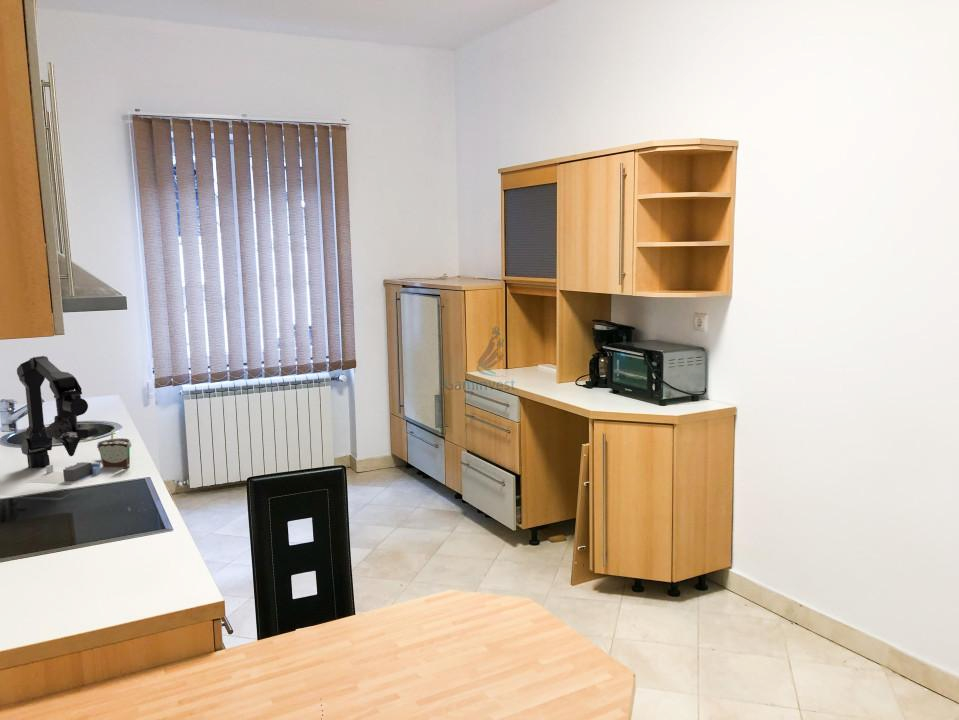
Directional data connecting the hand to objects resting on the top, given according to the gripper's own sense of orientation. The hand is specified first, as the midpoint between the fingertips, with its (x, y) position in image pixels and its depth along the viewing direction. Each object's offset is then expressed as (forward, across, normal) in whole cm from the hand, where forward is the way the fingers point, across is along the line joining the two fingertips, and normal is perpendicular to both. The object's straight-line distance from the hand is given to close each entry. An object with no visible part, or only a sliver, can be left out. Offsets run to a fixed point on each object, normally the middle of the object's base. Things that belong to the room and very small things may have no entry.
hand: (71, 455), depth 266 cm
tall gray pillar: (+8, 0, +2) cm, 9 cm away
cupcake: (+9, -5, +27) cm, 29 cm away
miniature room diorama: (+9, -5, +1) cm, 11 cm away
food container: (+9, +5, +18) cm, 21 cm away
